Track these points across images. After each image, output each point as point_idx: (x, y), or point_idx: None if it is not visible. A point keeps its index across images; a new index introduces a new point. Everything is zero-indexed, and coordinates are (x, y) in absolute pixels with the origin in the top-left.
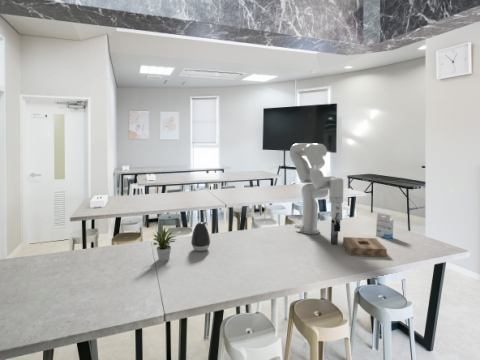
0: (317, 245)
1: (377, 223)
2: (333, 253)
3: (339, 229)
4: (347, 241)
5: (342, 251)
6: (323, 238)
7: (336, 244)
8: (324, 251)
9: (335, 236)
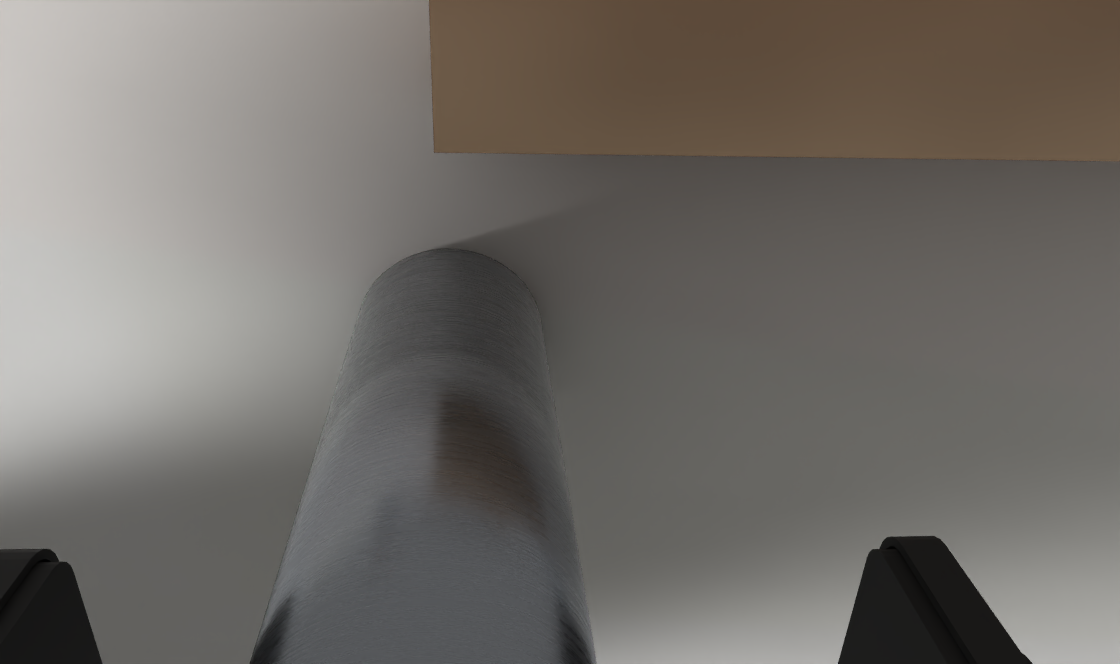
0: (630, 653)
1: None
2: (1104, 436)
3: (973, 624)
4: (949, 112)
5: (1030, 239)
6: (82, 522)
7: (529, 291)
8: (970, 569)
9: (561, 449)
